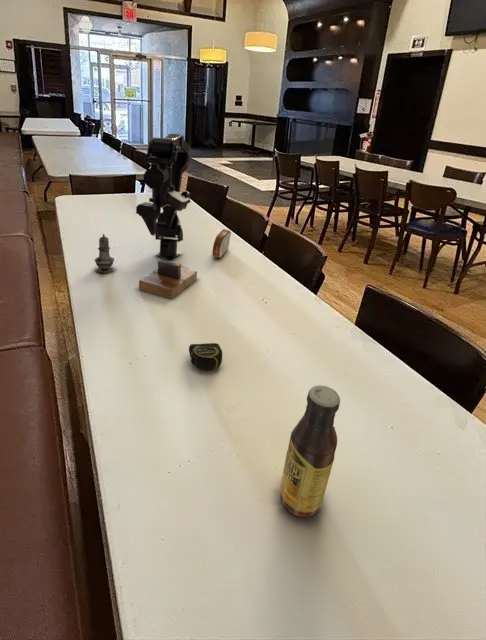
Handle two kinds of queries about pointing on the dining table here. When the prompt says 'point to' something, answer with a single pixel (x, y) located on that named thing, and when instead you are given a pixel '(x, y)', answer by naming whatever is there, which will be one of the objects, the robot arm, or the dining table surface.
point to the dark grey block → (169, 269)
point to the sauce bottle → (310, 454)
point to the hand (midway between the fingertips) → (160, 231)
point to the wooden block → (167, 283)
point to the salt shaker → (104, 257)
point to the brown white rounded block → (221, 243)
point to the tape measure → (205, 355)
